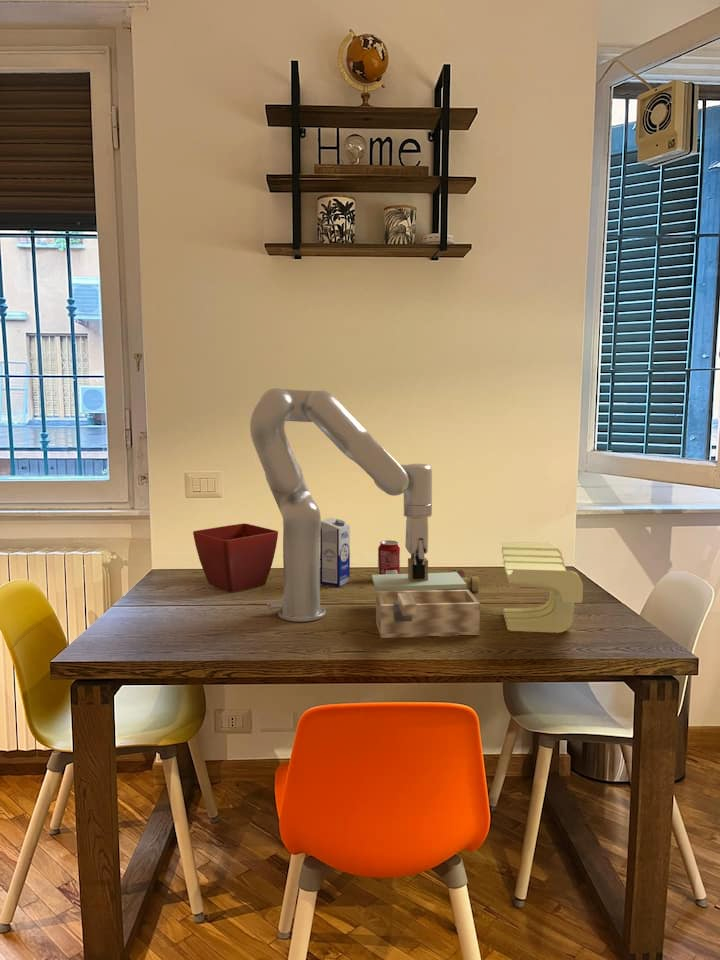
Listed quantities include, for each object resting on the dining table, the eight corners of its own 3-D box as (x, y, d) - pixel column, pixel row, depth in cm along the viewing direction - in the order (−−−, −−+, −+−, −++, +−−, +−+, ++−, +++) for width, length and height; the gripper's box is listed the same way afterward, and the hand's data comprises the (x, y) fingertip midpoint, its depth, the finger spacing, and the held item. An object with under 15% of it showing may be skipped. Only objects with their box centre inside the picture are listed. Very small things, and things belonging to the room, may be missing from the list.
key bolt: (402, 615, 157) (403, 604, 157) (397, 603, 166) (397, 593, 166) (416, 615, 157) (416, 604, 157) (410, 603, 166) (410, 592, 166)
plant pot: (192, 584, 216) (191, 530, 214) (245, 573, 229) (244, 522, 227) (226, 598, 202) (224, 540, 200) (280, 585, 215) (280, 531, 213)
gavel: (445, 564, 230) (476, 565, 228) (444, 578, 230) (475, 579, 229) (444, 577, 209) (478, 578, 208) (444, 592, 209) (478, 593, 208)
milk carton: (331, 579, 222) (330, 516, 220) (350, 581, 219) (350, 518, 217) (319, 584, 216) (319, 520, 214) (339, 587, 213) (339, 522, 211)
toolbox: (382, 642, 167) (382, 604, 166) (376, 621, 182) (376, 586, 181) (482, 639, 169) (483, 602, 168) (467, 619, 184) (468, 585, 183)
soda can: (400, 582, 219) (400, 544, 217) (378, 582, 219) (378, 544, 217) (398, 576, 225) (399, 539, 224) (377, 576, 225) (377, 539, 224)
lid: (376, 591, 185) (375, 566, 184) (371, 579, 197) (371, 555, 196) (466, 588, 187) (466, 563, 186) (456, 576, 199) (457, 553, 198)
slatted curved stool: (580, 645, 165) (583, 571, 163) (511, 642, 167) (513, 569, 165) (559, 606, 195) (561, 543, 193) (500, 604, 197) (502, 541, 194)
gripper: (399, 505, 197) (399, 569, 199) (408, 515, 181) (408, 585, 183) (426, 504, 198) (426, 569, 200) (437, 515, 181) (436, 584, 184)
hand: (417, 576), depth 192 cm, fingers closed on lid, 3 cm apart
